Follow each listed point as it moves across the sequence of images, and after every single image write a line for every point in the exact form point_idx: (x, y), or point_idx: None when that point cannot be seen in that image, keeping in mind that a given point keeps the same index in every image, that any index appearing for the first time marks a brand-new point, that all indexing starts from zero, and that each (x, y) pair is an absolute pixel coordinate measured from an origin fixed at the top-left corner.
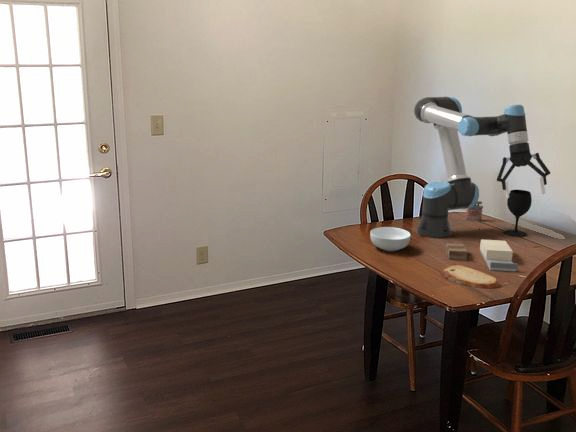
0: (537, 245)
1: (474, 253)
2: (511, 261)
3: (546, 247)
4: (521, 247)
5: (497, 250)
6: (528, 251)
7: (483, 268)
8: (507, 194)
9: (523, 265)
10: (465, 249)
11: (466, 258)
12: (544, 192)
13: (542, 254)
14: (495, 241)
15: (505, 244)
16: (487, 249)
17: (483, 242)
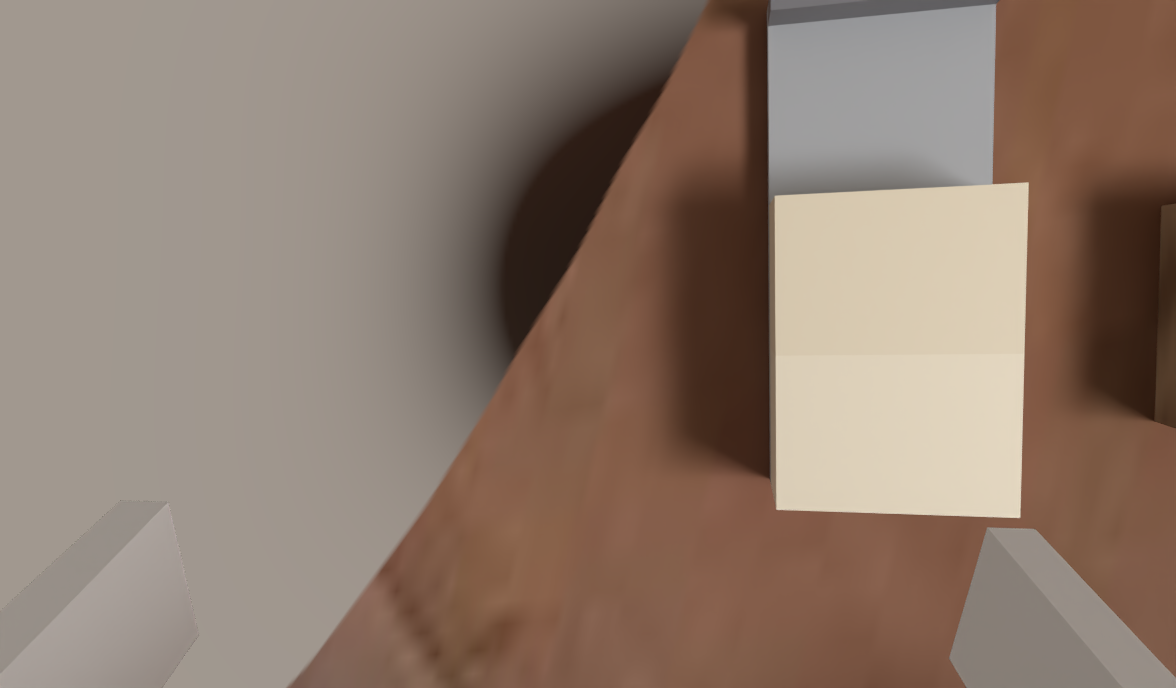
0: (477, 671)
1: (1042, 405)
2: (773, 189)
3: (424, 631)
4: (605, 612)
5: (920, 190)
6: (573, 521)
7: (1040, 18)
8: (1076, 589)
9: (682, 176)
10: None
11: (1172, 204)
12: (125, 512)
13: (486, 464)
14: (879, 473)
15: (799, 394)
16: (1018, 202)
17: (1012, 424)
